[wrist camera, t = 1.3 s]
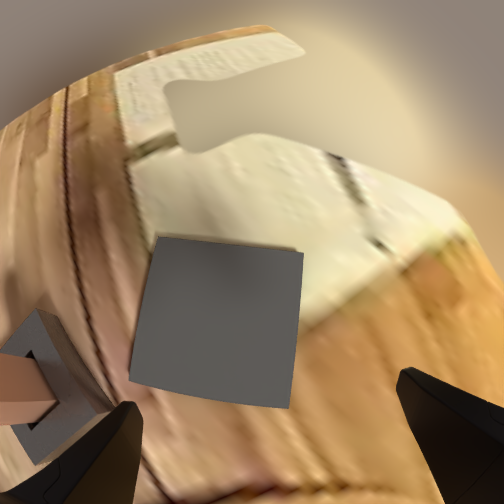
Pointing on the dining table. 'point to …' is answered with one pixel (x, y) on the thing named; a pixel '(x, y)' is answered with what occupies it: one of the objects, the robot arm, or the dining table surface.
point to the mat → (219, 322)
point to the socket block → (56, 388)
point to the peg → (24, 391)
